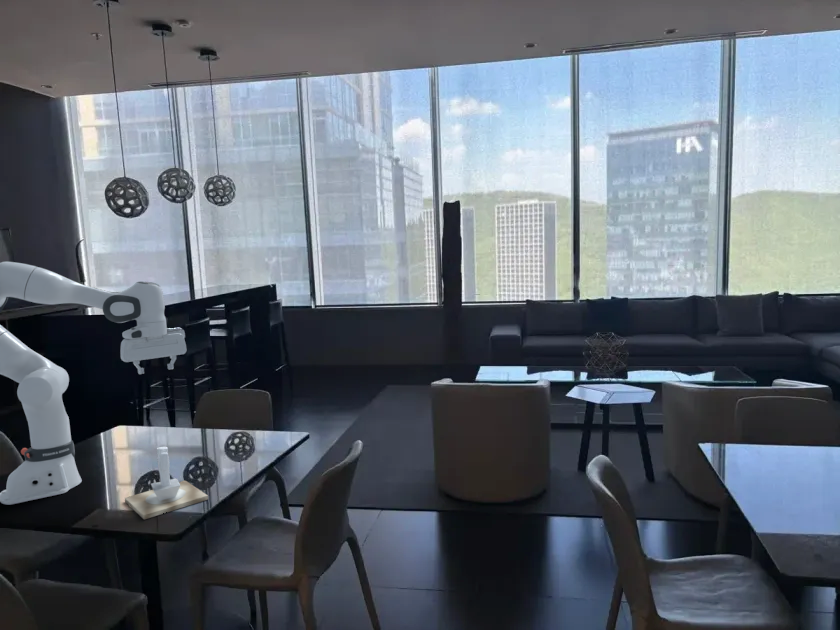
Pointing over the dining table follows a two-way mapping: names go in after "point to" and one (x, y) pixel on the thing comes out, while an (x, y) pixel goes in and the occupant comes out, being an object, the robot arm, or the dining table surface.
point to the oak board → (165, 501)
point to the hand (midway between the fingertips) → (156, 371)
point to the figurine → (165, 477)
